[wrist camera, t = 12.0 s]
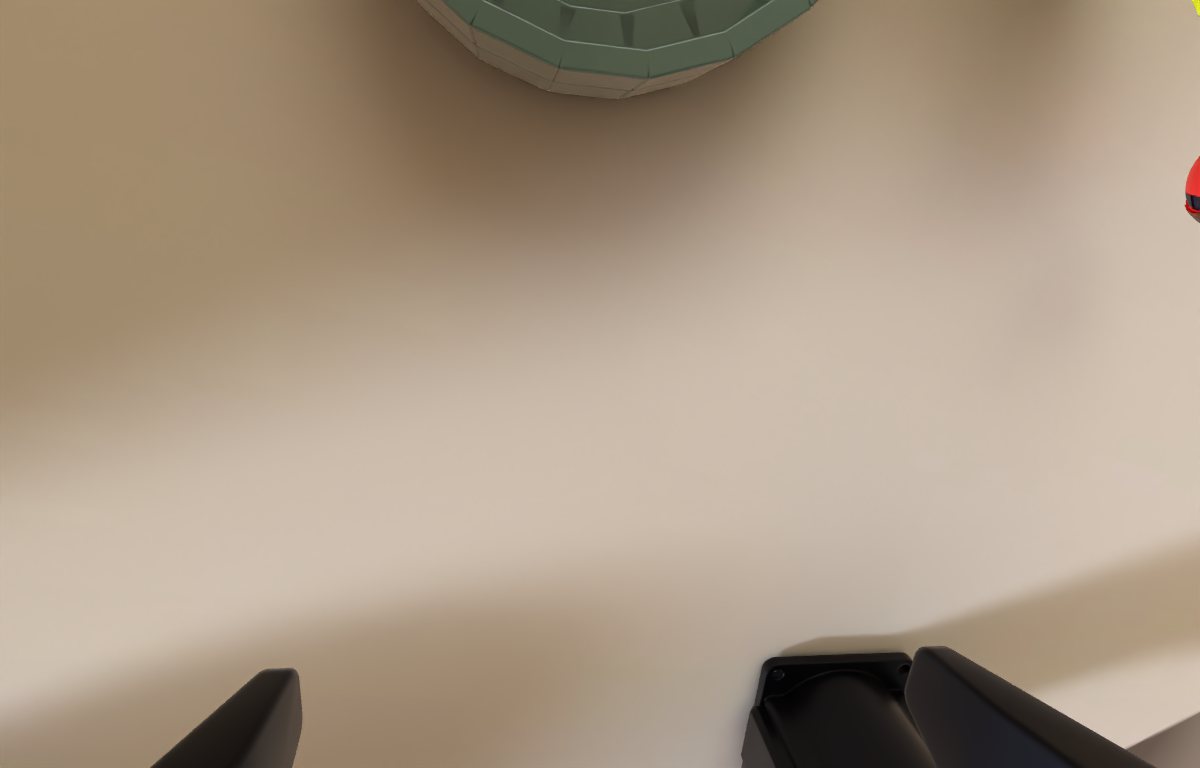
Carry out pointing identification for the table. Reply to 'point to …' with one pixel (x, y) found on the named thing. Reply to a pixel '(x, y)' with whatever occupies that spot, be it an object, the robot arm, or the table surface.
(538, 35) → the bowl
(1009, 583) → the table surface
